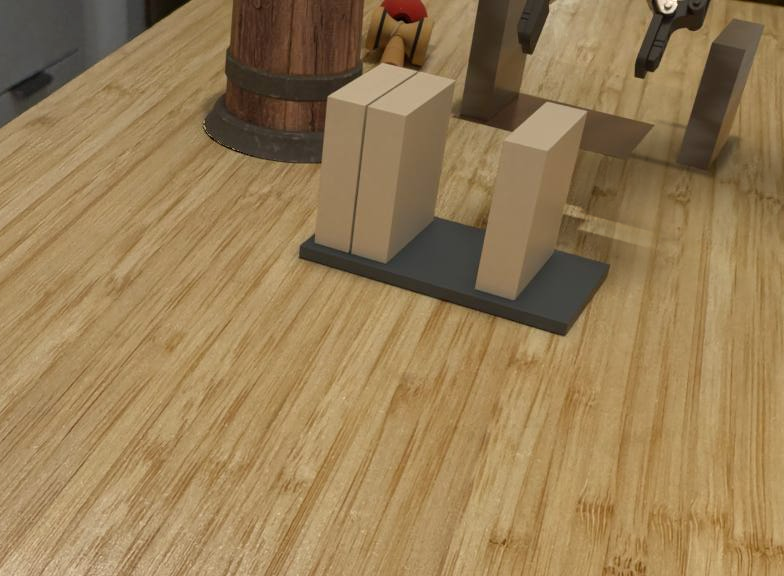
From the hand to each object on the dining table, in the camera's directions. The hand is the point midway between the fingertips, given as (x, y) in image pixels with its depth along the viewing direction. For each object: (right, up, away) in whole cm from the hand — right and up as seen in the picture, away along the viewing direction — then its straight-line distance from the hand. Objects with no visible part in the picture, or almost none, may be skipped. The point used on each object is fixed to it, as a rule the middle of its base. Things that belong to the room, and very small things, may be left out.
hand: (581, 59), depth 83 cm
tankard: (-21, +9, +30) cm, 38 cm away
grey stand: (+9, +8, +32) cm, 35 cm away
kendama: (-10, +22, +45) cm, 51 cm away
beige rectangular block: (-4, -13, +6) cm, 15 cm away
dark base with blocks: (-8, -12, +8) cm, 17 cm away
